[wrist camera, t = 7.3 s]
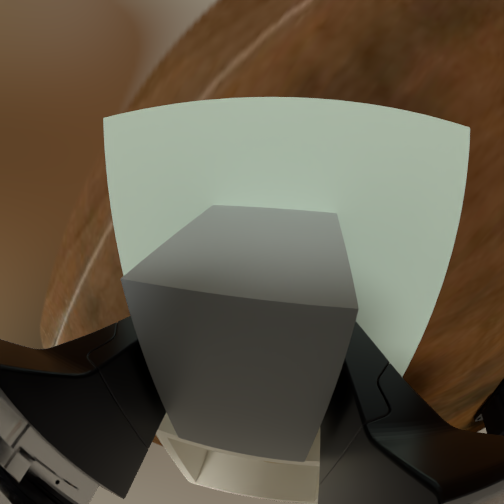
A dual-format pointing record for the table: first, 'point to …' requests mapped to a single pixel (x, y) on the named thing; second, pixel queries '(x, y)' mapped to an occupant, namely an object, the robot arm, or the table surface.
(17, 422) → the robot arm
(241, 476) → the box
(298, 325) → the lid
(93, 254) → the table surface
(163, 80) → the table surface
